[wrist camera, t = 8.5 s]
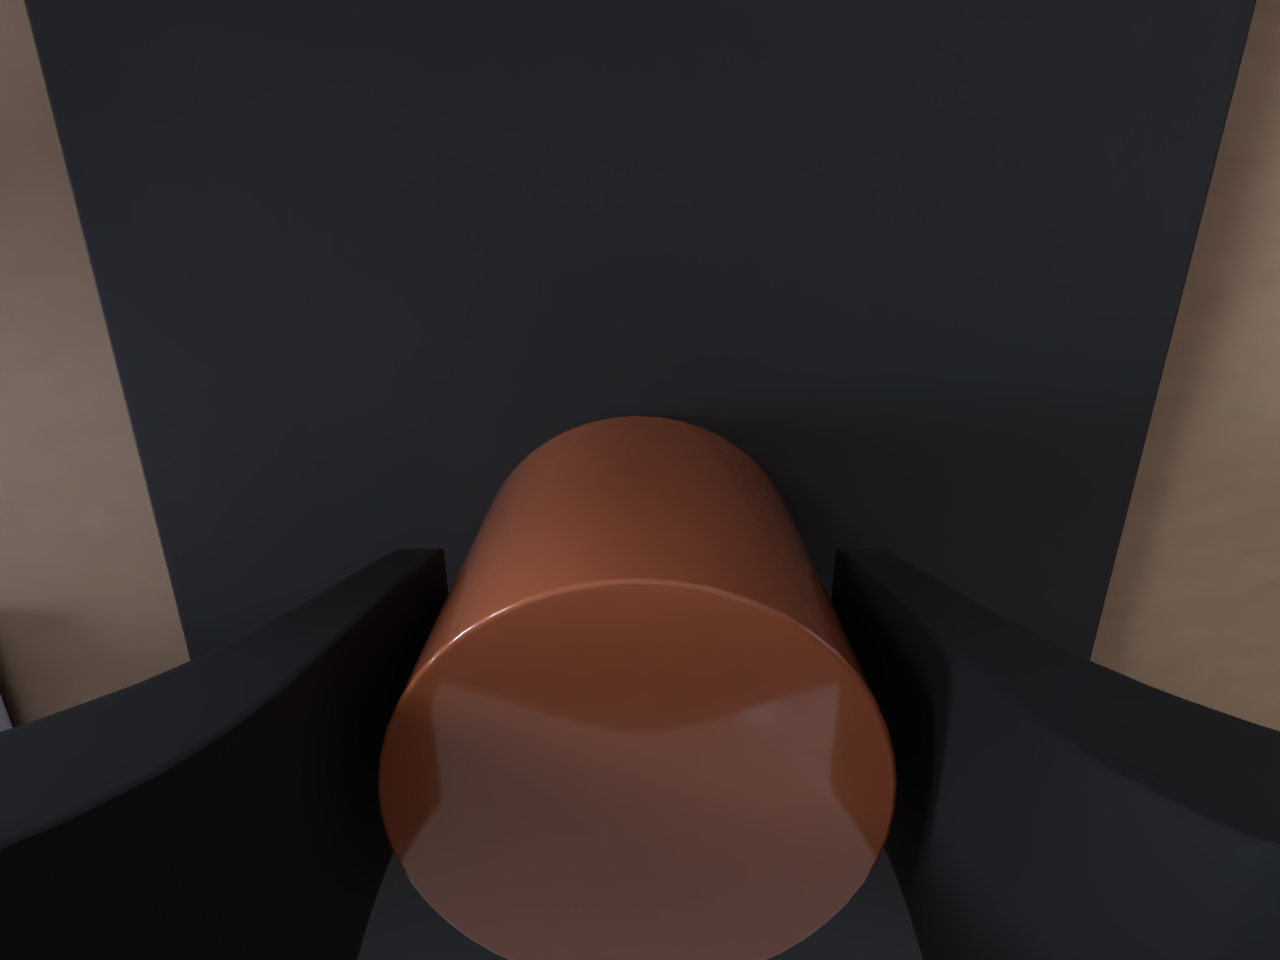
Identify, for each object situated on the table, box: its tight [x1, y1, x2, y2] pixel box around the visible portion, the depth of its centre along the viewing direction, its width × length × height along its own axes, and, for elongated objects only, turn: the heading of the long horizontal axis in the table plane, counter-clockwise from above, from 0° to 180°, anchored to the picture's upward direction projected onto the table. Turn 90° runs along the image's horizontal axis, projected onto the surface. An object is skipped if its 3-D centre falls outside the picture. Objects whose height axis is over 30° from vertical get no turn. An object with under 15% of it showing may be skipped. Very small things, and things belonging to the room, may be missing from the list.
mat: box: [24, 0, 1256, 960], centre depth 12 cm, size 15×20×1 cm
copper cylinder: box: [378, 416, 897, 960], centre depth 10 cm, size 5×5×5 cm
